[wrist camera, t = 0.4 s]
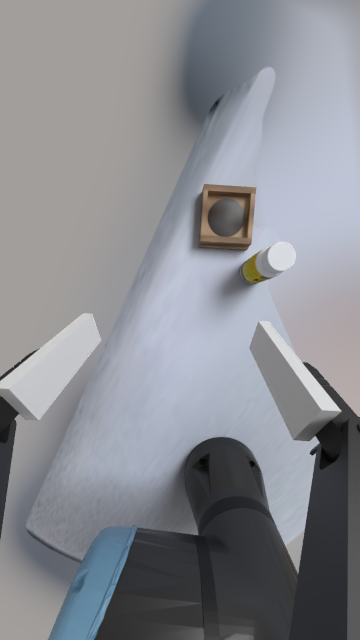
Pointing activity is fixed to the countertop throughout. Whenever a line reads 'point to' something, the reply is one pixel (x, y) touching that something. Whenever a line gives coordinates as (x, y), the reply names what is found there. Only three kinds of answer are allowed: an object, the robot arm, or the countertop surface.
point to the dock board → (227, 217)
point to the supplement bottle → (268, 263)
